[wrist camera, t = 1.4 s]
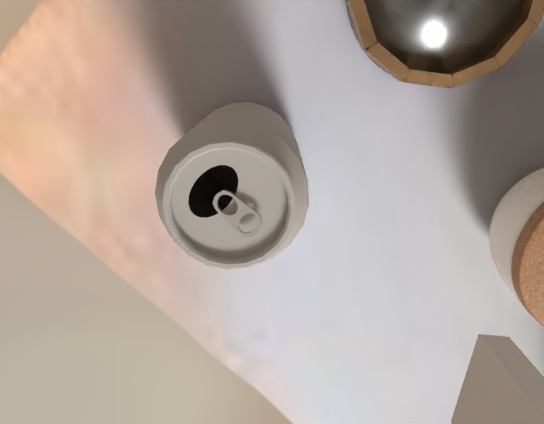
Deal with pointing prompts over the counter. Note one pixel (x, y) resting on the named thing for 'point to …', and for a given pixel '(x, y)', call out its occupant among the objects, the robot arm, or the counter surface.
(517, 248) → the lidded jar
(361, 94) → the counter surface
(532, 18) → the coaster
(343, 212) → the counter surface
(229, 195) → the can
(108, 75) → the counter surface
